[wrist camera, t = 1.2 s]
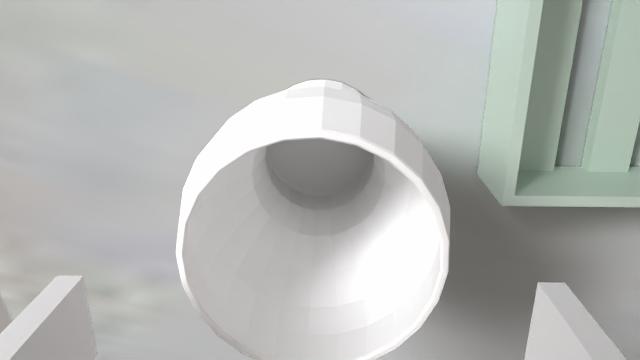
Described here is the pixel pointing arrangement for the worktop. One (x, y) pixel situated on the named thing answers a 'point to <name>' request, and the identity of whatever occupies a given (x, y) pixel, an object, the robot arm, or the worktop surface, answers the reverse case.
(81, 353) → the robot arm
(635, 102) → the dish rack
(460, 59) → the worktop surface
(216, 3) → the worktop surface
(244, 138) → the cup
